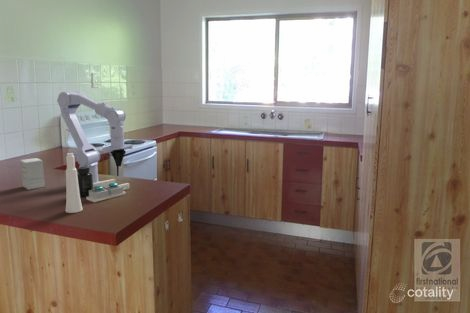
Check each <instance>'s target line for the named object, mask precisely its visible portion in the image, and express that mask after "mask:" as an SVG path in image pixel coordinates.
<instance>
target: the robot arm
mask: <svg viewBox="0 0 470 313" xmlns="http://www.w3.org/2000/svg"><path fill="white" fill-rule="evenodd" d="M56 102H57V103H58V106H59V108H60V114H61V116H62V118H63V120H64V121H63V122H64V123H65V125H66V127H67V129H68V131H69V133H70V135H71V137H72V139H73V141H74V144H75V146H76V147H77V148H76V151H75V156H76V160H77V163H78V165H79V167H89V169H90V172H89V173H91V174H92V176H93V183H96V182H101V181H102V180H99V173H98V172H99V171H98V165H99V162H100V160H101V153H100V152H99V151H98V150H97V149H96V147H95V146H94V145H92V144H91V143H90V142H89V140H88V138H87V136H86V133H85V132H84V129H83V127H82V126H81V123H80V122H79V119H78V117H77V115H76V112H77V110H78V109H79V107H80V106H81V105H83V106H84V107H87V108H89V109H92V110H94V113H95V114H96V115H98V116H99V117H102V118H104V119H106V120H107V122H108V124H109V125H108V126H109V130H110V132H109V133H110V146H106V147H102V149H101V150H102V153H104V154H106V153H110V155H111V156H112V158H113V160H114V163H115V166H116V167H122V163H123V159H124V156H125V155H126V150H132V149H133V144H131V143H128V144H125V137H124V136H125V134H124V133H125V132H124V131H125V130H124V121H125V120H126V113H125V112H124V111H123V110H122V109H120V108H118V109H116V107H114V106H110V105H108V104H107V102H106V101H103V102H96V101H95V100H94V99H92V98H90V97H88V96H86V95H85V94H84V93H81V92H80V91H62V92H60V93H59V94H58V97H57V100H56Z"/></svg>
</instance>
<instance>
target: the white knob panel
mask: <svg viewBox="0 0 470 313" xmlns="http://www.w3.org/2000/svg"><path fill="white" fill-rule="evenodd" d="M100 181H101V182H96V183H93V190H90V191H89V196H86V200H87V201H89V202H92V203H96V202H97V203H98V202H102V201H104V200H109V199H113V198H117V197H120V196H124V195H126V194H127V192H126V190H130V183H129V182H125V183H121V184H118V185H117V188H114V189H111V188H110V186H109V184H110V183H117V182H116V178H111V179H107V180H100ZM95 186H103V189H102V191H101V192H95V189H94V187H95Z"/></svg>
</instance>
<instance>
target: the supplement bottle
mask: <svg viewBox="0 0 470 313" xmlns="http://www.w3.org/2000/svg"><path fill="white" fill-rule="evenodd" d="M76 169H77V177H78V185H79V193H80V198H81V197H82V198H84V197H89V191H90V190H93V176H92V174H91V173H89V172H90V169H89V167H77V168H76Z"/></svg>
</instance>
